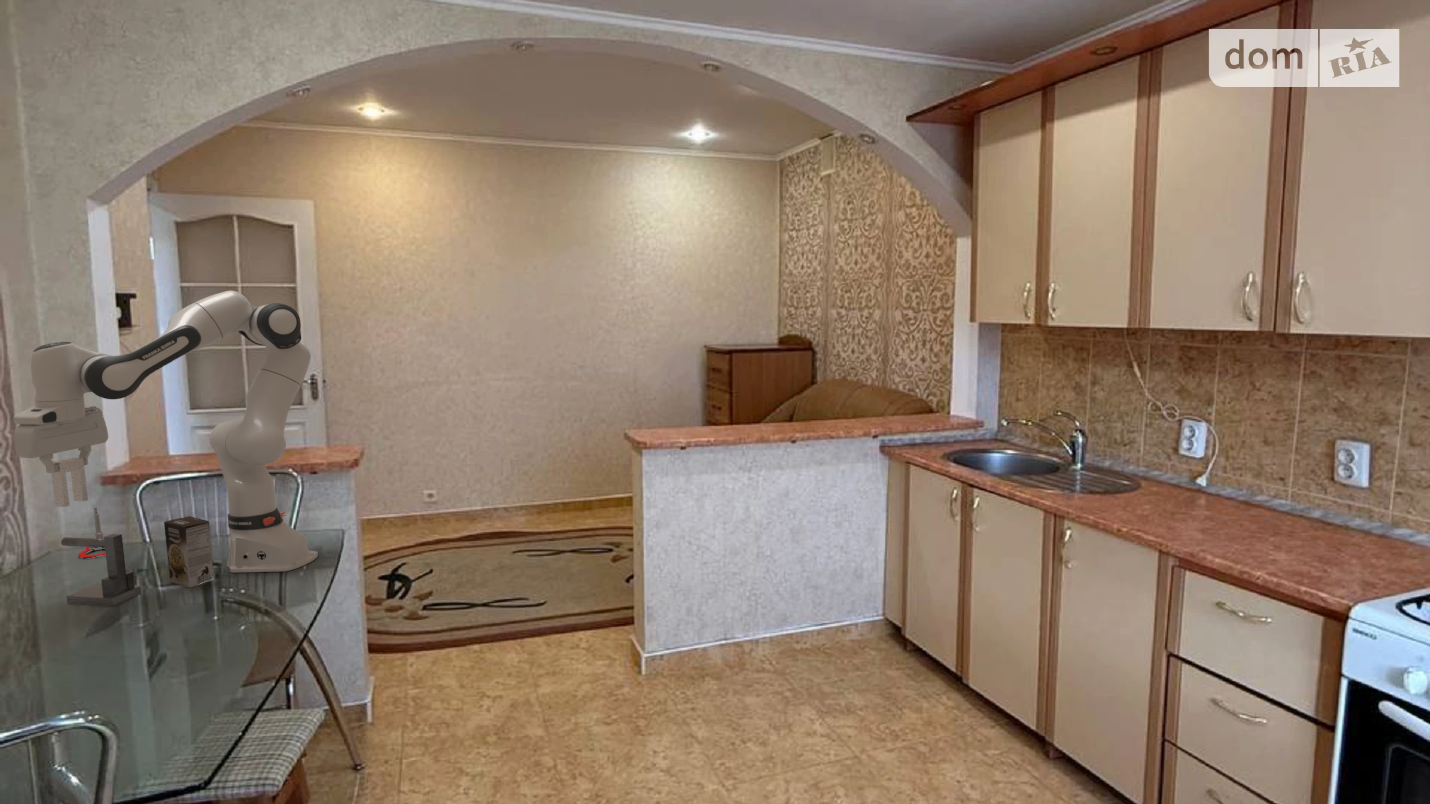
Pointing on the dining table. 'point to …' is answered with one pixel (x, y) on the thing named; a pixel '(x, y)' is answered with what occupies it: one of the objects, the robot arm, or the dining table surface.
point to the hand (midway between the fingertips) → (67, 468)
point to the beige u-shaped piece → (77, 481)
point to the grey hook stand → (118, 580)
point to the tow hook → (98, 535)
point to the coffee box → (188, 550)
